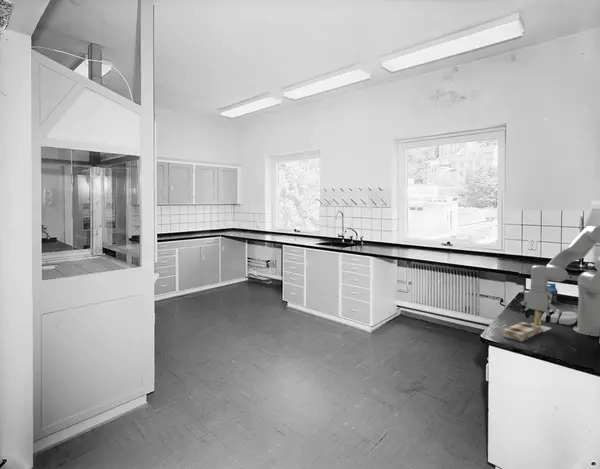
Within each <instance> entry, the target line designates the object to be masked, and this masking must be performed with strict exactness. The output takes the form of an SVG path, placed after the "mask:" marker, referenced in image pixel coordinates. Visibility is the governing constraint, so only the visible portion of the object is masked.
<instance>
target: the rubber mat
mask: <svg viewBox="0 0 600 469" xmlns="http://www.w3.org/2000/svg"><path fill="white" fill-rule="evenodd" d="M530 324H533V325H534V323H533V322H531V323H530ZM551 329H552V327H550V326H545V325H542V324H541V332H543V333H545V332H547V331H549V330H551Z"/></svg>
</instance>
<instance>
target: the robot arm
mask: <svg viewBox="0 0 600 469" xmlns="http://www.w3.org/2000/svg"><path fill="white" fill-rule="evenodd" d="M597 244H600V225H597V224H596V225H595V224H590V225H588V226H586V227H584V229H582V230H581V232H580V233H579V234H578V235H577V236H576V237H575V238H574V239H573V240H572V242H570V244H569V245H568V246H567V247H566V248H564V249H563V250H561V251H560V252H559V253H558V254H556V255H555V256H554V257H553V258H552V259H551V260H550V261H549V262H548V263H547V264H546V265H538V264H536V265H532V267H531V269H530V270H531V271H530V272H531V273H530V289H529V290H528V291H529V293H528V297H527V300H524V301H523V300H522V301H520V304H521V306H522V309H523V310H524V311H525V312H524V317H525V319H529V318H531V310H532V309H534V311H535V310H540V311H541V312H543V313H546V314H547V315H546V321H545V324H549V323H551V322H550V321H551V315H552V314H554V313H555V312H556V310H557V309H558V308H557V307H555V306H554V305H553V304H551V303H552V302H550V294H549V292H547V291H550V290H551V289H550V288H548V286H549V285H548V283H549V281H553V282H563V281H565V280H567V278H568V276H569V273H568V271H567V270H566V267H567V266H569V265H570V264H571V263H573V262H576V261H577V260H581V259H584V258H585V257H586V256H587V255H588V254H589V252H591V251H592V249H593V248H595V246H597ZM593 266H594V268H595V269H596V271H592V270H591V271H590V270H589V271H588V270H587V271H583V272H581V274H580V275H579V276H578V278H577V288H578V290H577V291H578V301H577V303H578V304H577V315H578V319H577V321H576V322H577V323H576V324H577V325H576V326H575V325H574V326H573V329H572V330H573V331H575V332H576V333H578V334H581V335H586V336H589V335H590V336H591V337H600V336H599V335H600V255H599V256H598V257H597V258H596V259H595V261H594V265H593ZM525 303H526V304H527V306H526V304H525ZM551 309H553V310H552V311H551V312H550V311H549V310H551Z"/></svg>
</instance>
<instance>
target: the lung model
mask: <svg viewBox="0 0 600 469" xmlns="http://www.w3.org/2000/svg"><path fill="white" fill-rule="evenodd" d="M552 310H553V309H551V308H550V310H549V311H550V312H551V311H552ZM546 315H547V314H546V313H545V312H543V313H542V314H541V322H546ZM577 319H578V313H577V312H575V311H563V312H560V309H558V308H557V310H556V312H555V313H554V314H552V315H551V321H550V322H549V323H552V324H557V323H558V324H560V325H565V326H571V325H574V324H575V323H576V322H577Z"/></svg>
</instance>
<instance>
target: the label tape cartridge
mask: <svg viewBox="0 0 600 469" xmlns="http://www.w3.org/2000/svg"><path fill="white" fill-rule="evenodd" d="M548 288H550V289H551V290H550V291H547V292H549V294H550V302H551V303H554V304H555V303H558V290H557V287H556V283H549V282H548Z"/></svg>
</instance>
